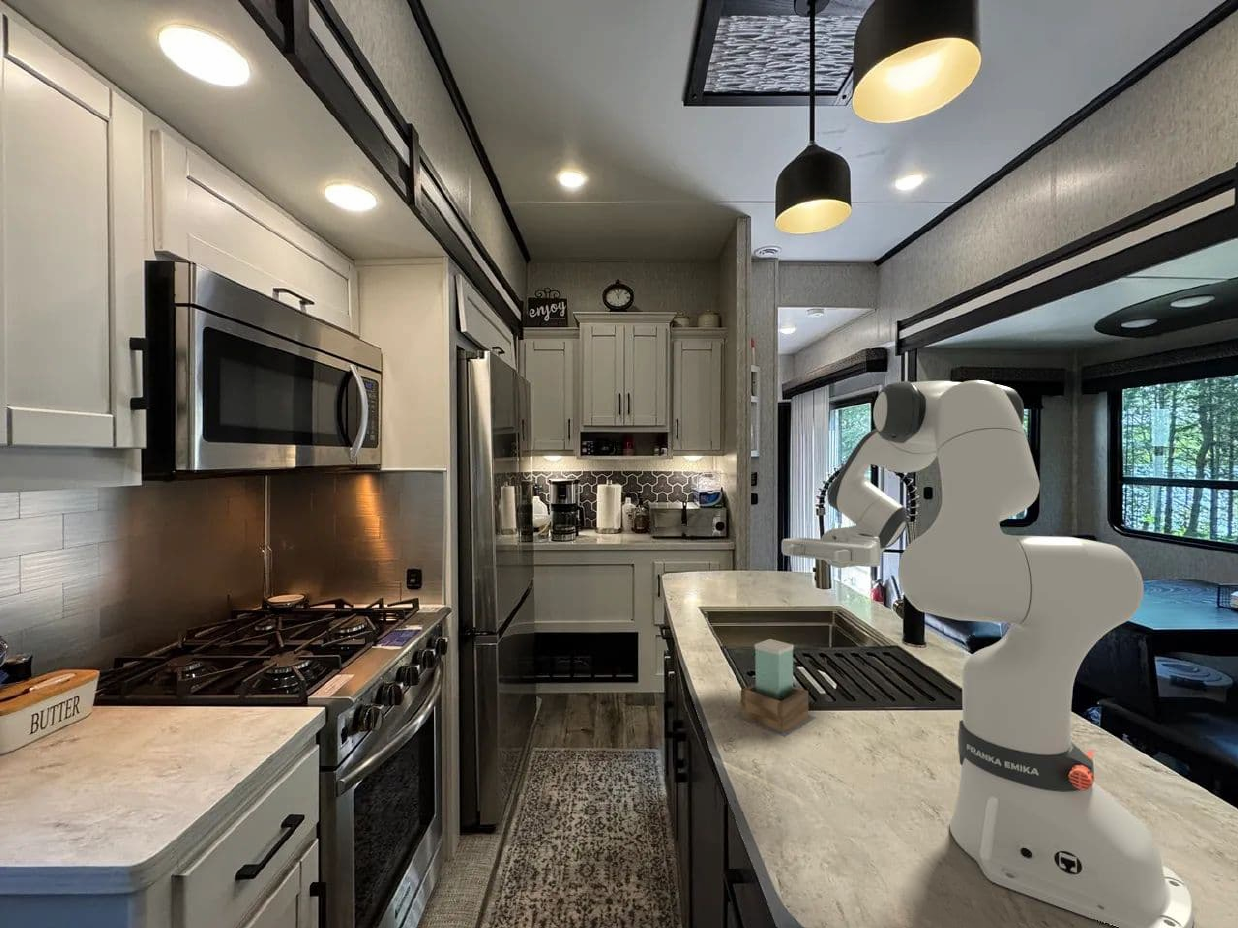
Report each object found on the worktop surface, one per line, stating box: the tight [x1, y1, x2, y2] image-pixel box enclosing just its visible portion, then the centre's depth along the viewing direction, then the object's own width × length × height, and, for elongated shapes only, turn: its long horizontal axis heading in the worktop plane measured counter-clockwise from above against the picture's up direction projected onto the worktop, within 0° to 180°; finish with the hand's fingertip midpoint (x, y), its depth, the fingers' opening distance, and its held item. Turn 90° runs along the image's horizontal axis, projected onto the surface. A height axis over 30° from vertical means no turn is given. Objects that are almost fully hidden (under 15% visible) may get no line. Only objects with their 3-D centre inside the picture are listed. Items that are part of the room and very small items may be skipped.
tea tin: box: [754, 638, 795, 701], centre depth 105 cm, size 5×5×12 cm
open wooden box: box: [740, 682, 810, 732], centre depth 105 cm, size 9×9×5 cm
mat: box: [733, 712, 817, 737], centre depth 105 cm, size 11×11×1 cm
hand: (810, 553), depth 115 cm, fingers open, 8 cm apart
